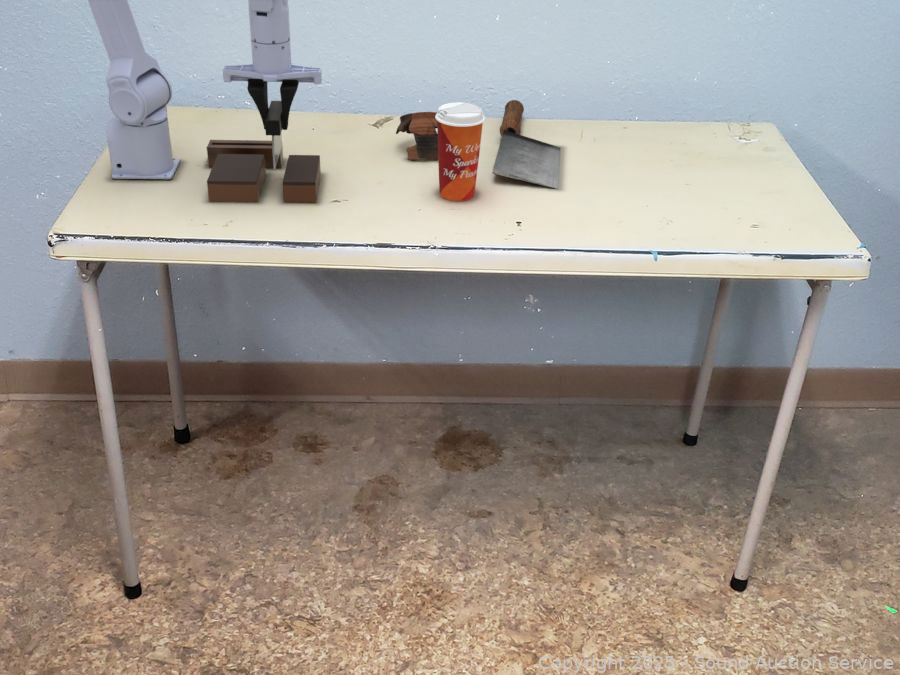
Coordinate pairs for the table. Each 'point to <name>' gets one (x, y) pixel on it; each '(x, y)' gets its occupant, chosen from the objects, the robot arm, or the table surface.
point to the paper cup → (458, 149)
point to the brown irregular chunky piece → (421, 134)
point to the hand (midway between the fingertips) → (276, 127)
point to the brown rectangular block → (302, 179)
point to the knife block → (243, 150)
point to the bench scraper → (274, 128)
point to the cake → (236, 178)
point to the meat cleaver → (525, 152)
